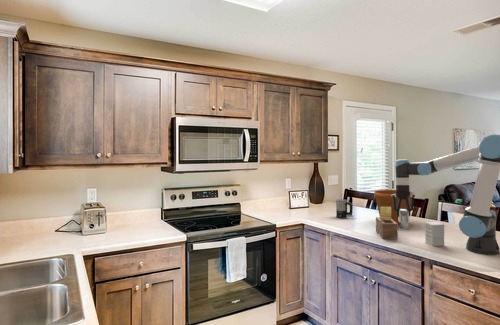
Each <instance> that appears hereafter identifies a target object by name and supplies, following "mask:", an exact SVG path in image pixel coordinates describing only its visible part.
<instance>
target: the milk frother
mask: <svg viewBox="0 0 500 325" xmlns="http://www.w3.org/2000/svg"><path fill="white" fill-rule="evenodd" d="M348 206H349V211H348ZM353 206H354V205H353V203H352V202H349V201H348V200H347V199H336V200H335V207H336V213H335V214H336V216H335V217H336V218H337V219H347V218H348V216H352V215H353V209H354V208H353Z"/></svg>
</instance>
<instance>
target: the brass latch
mask: <svg viewBox="0 0 500 325" xmlns="http://www.w3.org/2000/svg"><path fill="white" fill-rule="evenodd" d="M379 217H380V219H388V220H391V207H380V216H379Z"/></svg>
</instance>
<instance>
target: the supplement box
mask: <svg viewBox="0 0 500 325" xmlns="http://www.w3.org/2000/svg"><path fill="white" fill-rule="evenodd" d="M424 225H425V226H424V227H425V229H424V230H425V236H424V237H425V244H427V245H430V246H432V247H437V246H441V245H442V246H445V224H444V223H441V222H439V221H430V222H429V221H427V222H426V221H425V224H424Z"/></svg>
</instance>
